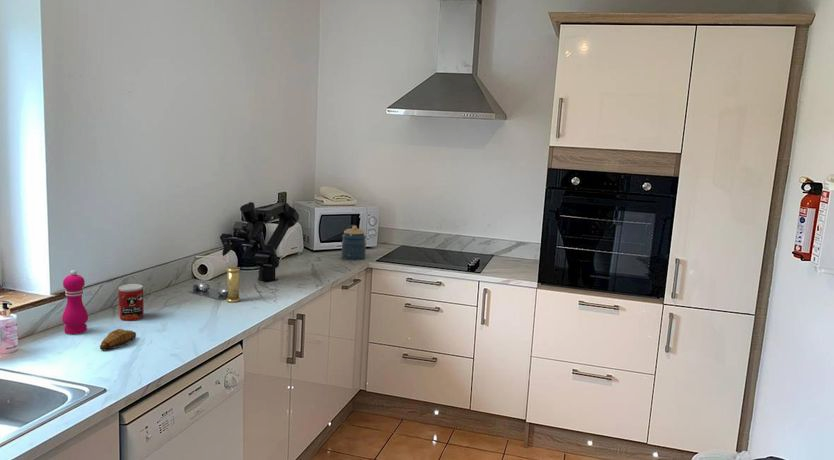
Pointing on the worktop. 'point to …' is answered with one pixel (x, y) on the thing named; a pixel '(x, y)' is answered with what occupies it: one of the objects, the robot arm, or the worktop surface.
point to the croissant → (117, 338)
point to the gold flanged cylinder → (233, 284)
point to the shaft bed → (209, 291)
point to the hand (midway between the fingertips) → (233, 256)
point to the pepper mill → (74, 305)
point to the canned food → (131, 302)
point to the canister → (354, 243)
